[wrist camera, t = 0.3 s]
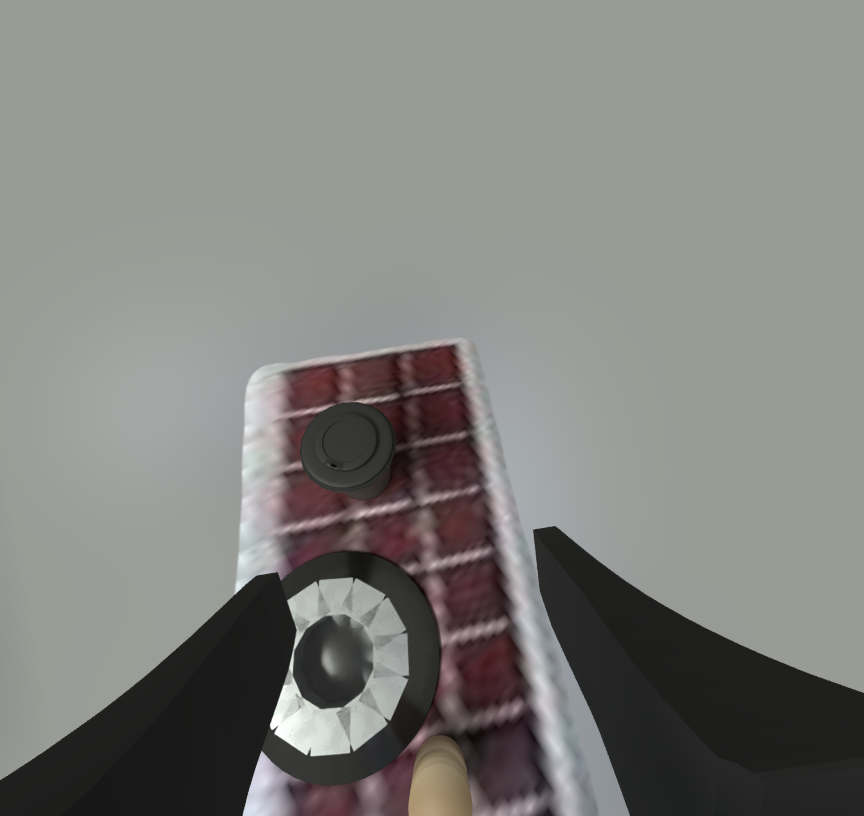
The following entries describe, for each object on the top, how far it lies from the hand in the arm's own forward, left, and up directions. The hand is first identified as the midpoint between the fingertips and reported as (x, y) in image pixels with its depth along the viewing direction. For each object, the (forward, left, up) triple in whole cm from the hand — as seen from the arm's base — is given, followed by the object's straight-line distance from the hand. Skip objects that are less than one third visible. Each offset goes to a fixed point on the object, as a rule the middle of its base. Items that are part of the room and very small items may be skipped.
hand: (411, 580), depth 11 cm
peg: (-12, 0, -29) cm, 31 cm away
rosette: (-4, +8, -29) cm, 30 cm away
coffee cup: (+12, +6, -29) cm, 32 cm away
